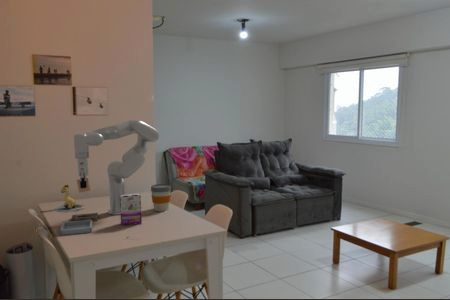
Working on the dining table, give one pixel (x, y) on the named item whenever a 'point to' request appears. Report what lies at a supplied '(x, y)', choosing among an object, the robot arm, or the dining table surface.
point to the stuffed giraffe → (67, 202)
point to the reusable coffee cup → (161, 196)
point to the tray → (76, 227)
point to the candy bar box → (130, 209)
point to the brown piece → (85, 217)
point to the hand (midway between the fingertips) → (83, 187)
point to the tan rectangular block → (83, 188)
